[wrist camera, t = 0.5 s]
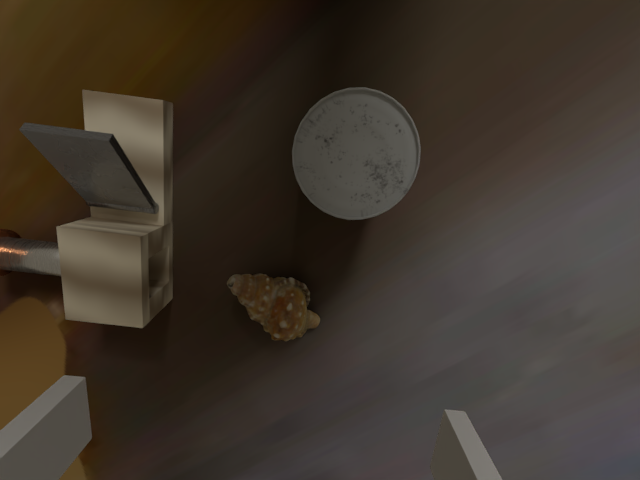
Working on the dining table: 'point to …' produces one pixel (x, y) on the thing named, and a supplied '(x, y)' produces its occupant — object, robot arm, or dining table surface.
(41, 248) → the pin
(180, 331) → the dining table surface
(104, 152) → the latch flap
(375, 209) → the grey stone cylinder
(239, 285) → the seashell
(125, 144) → the block
